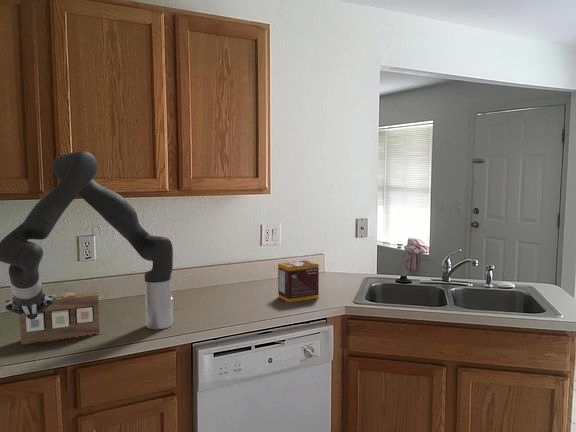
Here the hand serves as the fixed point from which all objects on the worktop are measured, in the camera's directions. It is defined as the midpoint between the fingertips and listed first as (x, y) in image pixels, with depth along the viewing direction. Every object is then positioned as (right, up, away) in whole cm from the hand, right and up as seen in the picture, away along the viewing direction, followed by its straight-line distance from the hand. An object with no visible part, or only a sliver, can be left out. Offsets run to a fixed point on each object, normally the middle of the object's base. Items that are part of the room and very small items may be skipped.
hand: (32, 316), depth 144 cm
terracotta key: (+9, -5, +17) cm, 20 cm away
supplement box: (+84, -5, +63) cm, 106 cm away
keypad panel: (+2, -10, +16) cm, 19 cm away
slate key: (-4, -6, +9) cm, 12 cm away
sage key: (+3, -6, +12) cm, 14 cm away
